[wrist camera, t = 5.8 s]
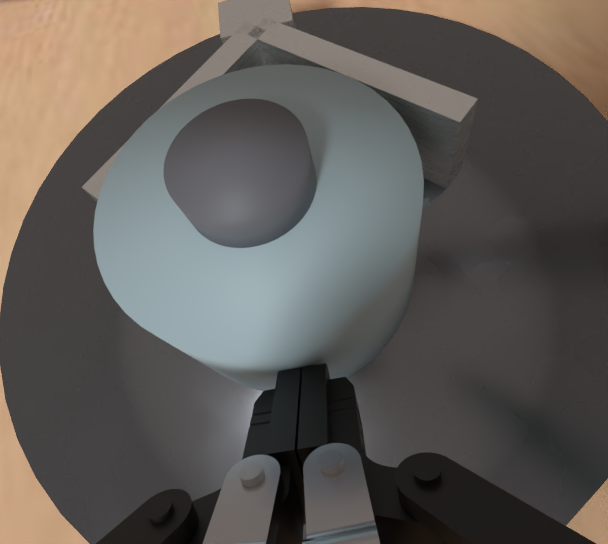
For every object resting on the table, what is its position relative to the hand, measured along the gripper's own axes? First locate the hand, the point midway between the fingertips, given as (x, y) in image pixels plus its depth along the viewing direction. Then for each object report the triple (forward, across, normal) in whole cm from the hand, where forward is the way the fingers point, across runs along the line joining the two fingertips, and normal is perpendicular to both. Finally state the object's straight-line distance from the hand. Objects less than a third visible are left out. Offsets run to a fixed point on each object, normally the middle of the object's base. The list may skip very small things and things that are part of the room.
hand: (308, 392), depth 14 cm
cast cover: (+6, 0, -2) cm, 6 cm away
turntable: (+8, 0, -2) cm, 9 cm away
